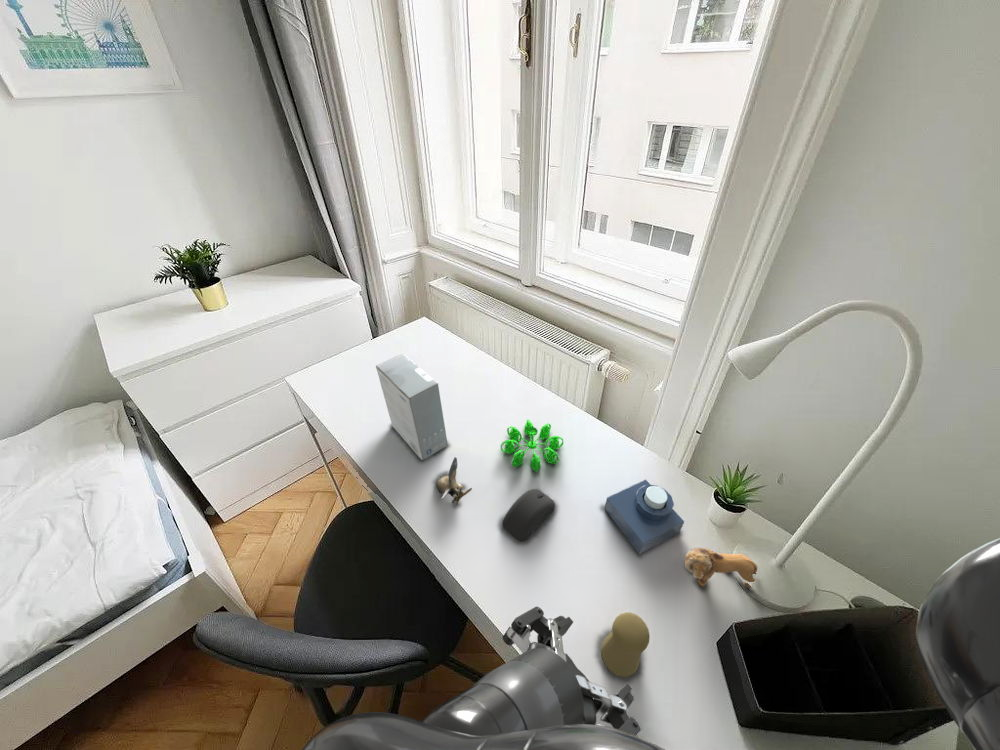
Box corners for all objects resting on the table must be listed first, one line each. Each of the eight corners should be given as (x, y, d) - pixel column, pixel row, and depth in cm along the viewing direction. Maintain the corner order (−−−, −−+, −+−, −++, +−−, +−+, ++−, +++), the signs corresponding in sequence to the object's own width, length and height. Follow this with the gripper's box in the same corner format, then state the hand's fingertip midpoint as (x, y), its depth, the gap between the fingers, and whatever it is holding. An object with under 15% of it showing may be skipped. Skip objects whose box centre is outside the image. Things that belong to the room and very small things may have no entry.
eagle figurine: (481, 491, 88) (463, 458, 93) (464, 486, 82) (447, 451, 87) (454, 512, 89) (438, 478, 94) (436, 509, 83) (420, 472, 88)
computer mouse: (557, 507, 86) (558, 496, 83) (522, 544, 80) (522, 534, 77) (534, 489, 89) (535, 478, 87) (499, 524, 83) (498, 513, 80)
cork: (644, 646, 66) (659, 619, 59) (633, 686, 62) (648, 662, 55) (608, 625, 68) (618, 597, 61) (595, 662, 64) (605, 637, 57)
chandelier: (487, 454, 97) (486, 434, 93) (525, 419, 106) (526, 399, 102) (538, 487, 90) (540, 467, 85) (575, 446, 98) (578, 427, 94)
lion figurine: (683, 596, 72) (697, 572, 66) (670, 566, 76) (683, 541, 70) (763, 587, 72) (784, 563, 67) (746, 558, 76) (765, 533, 71)
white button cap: (669, 504, 79) (672, 498, 78) (653, 512, 78) (655, 506, 77) (655, 489, 82) (657, 482, 81) (639, 496, 81) (641, 490, 80)
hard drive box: (449, 445, 100) (439, 383, 87) (422, 461, 96) (408, 400, 83) (416, 412, 109) (403, 351, 96) (390, 425, 105) (373, 365, 93)
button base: (681, 531, 81) (689, 514, 77) (639, 554, 78) (645, 538, 74) (643, 489, 89) (649, 472, 85) (604, 508, 85) (608, 491, 81)
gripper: (616, 772, 29) (668, 690, 42) (491, 609, 38) (566, 582, 51) (559, 847, 30) (627, 744, 43) (450, 671, 39) (534, 629, 51)
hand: (594, 656), depth 47 cm, fingers open, 8 cm apart
